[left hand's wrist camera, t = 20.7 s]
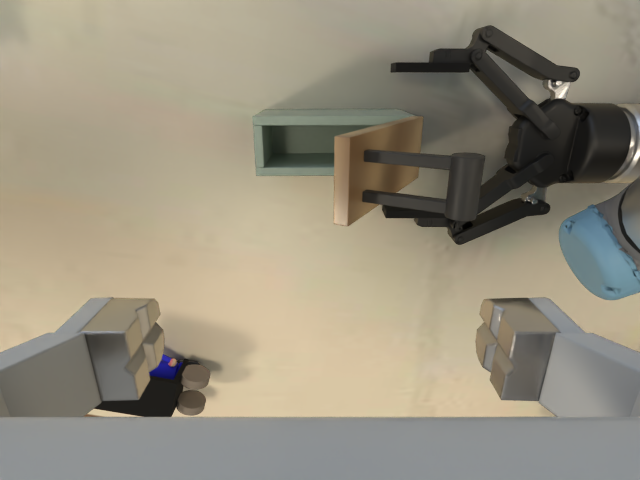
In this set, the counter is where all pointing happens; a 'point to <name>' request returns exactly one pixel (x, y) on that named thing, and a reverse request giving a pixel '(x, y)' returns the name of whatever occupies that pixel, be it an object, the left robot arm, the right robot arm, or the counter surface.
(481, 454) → the left robot arm
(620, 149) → the right robot arm
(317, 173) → the chest
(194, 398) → the figurine character
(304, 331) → the counter surface
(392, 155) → the lid
